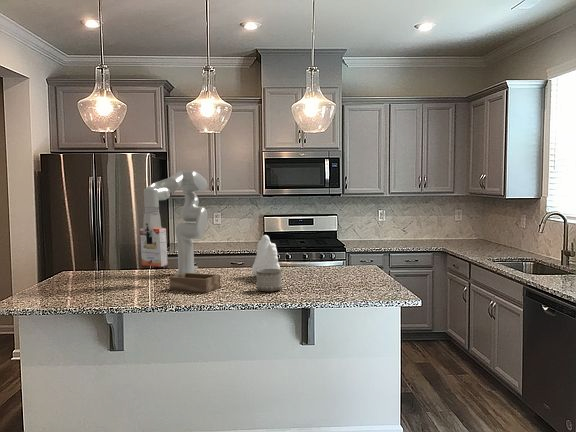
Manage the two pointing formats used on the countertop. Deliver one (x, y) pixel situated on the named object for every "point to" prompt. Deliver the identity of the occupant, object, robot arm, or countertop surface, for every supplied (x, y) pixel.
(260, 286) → the planter
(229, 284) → the countertop surface
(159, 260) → the cracker box
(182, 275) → the walnut crate
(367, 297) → the countertop surface
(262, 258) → the white fluffy lump
